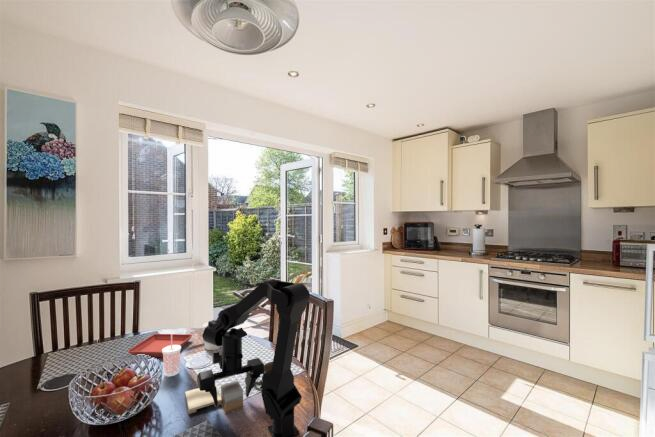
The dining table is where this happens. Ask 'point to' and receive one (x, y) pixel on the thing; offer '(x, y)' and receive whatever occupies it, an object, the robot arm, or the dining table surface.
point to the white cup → (208, 345)
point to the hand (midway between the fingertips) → (232, 401)
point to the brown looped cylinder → (267, 368)
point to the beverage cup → (171, 359)
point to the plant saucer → (159, 344)
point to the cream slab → (199, 399)
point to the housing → (232, 397)
